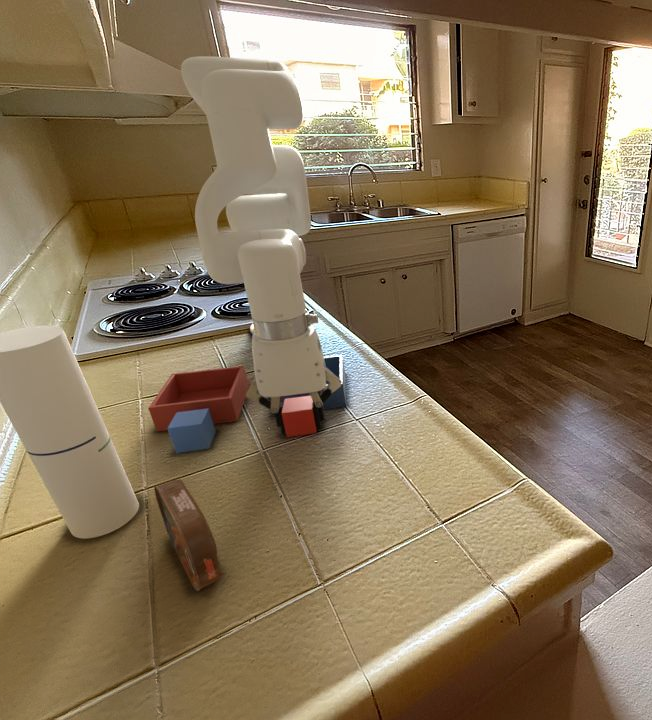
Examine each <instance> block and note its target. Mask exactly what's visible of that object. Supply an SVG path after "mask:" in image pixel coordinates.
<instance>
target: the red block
mask: <svg viewBox="0 0 652 720" xmlns="http://www.w3.org/2000/svg"><path fill="white" fill-rule="evenodd" d="M313 403H314V402H313V400H312V398H311V396H303V397H295V398H287V399H284V404H283V409H282V418H283V422H284V427H285V431H286V433H285V435H286V437H287V438H291V437H297V436H303V435H304V436H305V435H311V434H316V433H317V430H318V429H317V428H316V424H315V418H314V413H313Z"/></svg>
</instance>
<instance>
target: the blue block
mask: <svg viewBox="0 0 652 720" xmlns="http://www.w3.org/2000/svg"><path fill="white" fill-rule="evenodd" d="M167 429H168V430H167V432H168V435H169V437H170V440H171V443H172V445H173V448H174V451H175V454H180V453H181V454H182V453H188V452H193V451H195V452H196V451H200V450H201V451H202V450H209V449H210V447H211V445H212V442H213V440H214V437H215V435H216V432H217V431H216V428H215V424H213V421H212V418H211V415H210V411H209V408H208V409H200V410H192V411H184V412H177V413H176V414H175V416H174V418H173V420H172V421H171V423H170V425H169V426H168V428H167Z"/></svg>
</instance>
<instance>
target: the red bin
mask: <svg viewBox="0 0 652 720" xmlns="http://www.w3.org/2000/svg"><path fill="white" fill-rule="evenodd" d="M249 387H250V383H249V380H248V375H247V371H246V367H245V365H239V366H229V367H220V368H211V369H201V370H194V371H193V370H192V371H185V372H174V373H171V374H170V376H169V377H168V379H167V380H166V381H165V383H164V384H163V386H162V387H161V389H160V390H159V392H158V393H157V395H156V396H155V398H153V400H152V401H151V403H150V405H149V406H148V407H147V409H148V411H149V415H150V417H151V419H152V422H153V425H154V427H155V430H156V432H164V431H168V429H167V428H168V426H169V425H170V423H171V421H172V420H173V418H174V416H175V414H176V413H177V412H184V411H192V410H200V409H208V408H209V411H210V415H211V418H212V421H213V424H214V425H216V424H217V425H218V424H223V423H231V422H238V420H239V417H240V414H241V411H242V409H243V406H244V404H245V400H246V399H247V398H246V396H245V395H246V392H247V390H248V388H249Z"/></svg>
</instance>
